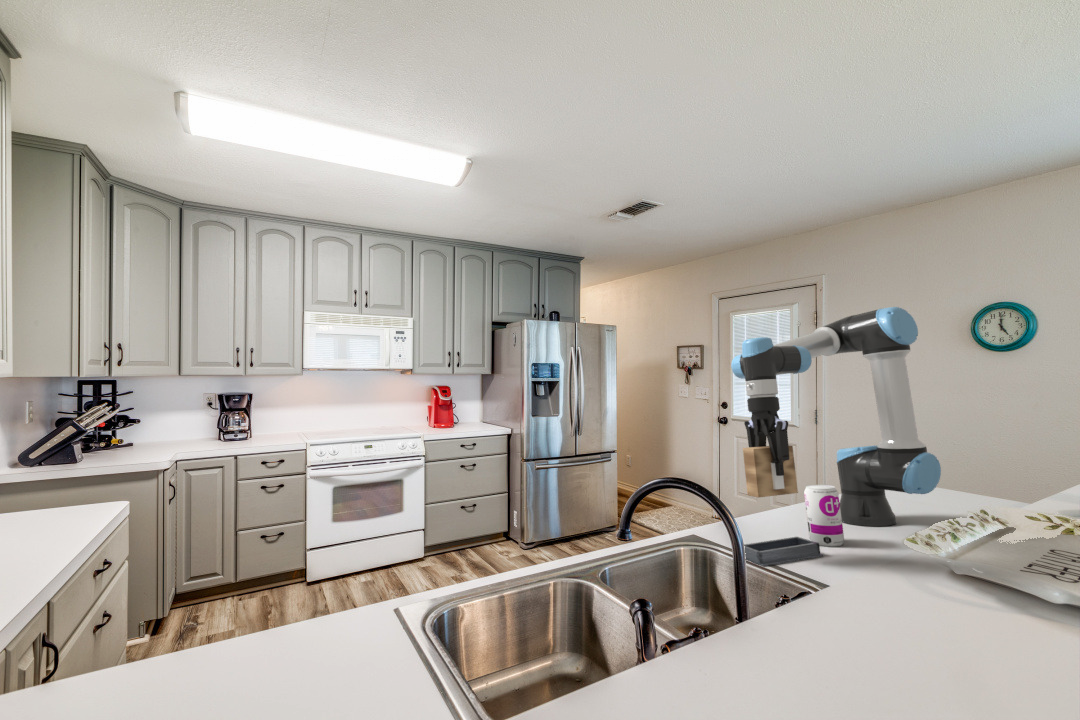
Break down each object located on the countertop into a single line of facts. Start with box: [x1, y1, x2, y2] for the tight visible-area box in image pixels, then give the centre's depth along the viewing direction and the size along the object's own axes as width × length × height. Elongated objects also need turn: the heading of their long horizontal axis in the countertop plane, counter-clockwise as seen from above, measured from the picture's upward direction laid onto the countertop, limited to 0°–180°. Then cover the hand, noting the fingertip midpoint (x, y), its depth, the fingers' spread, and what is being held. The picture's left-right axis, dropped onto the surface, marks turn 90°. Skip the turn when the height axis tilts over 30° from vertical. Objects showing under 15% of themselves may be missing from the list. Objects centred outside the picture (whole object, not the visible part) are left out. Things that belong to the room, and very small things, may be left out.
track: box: [743, 536, 825, 568], centre depth 120 cm, size 18×9×3 cm, turn 105°
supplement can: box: [803, 484, 845, 548], centre depth 129 cm, size 8×8×15 cm
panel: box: [742, 444, 799, 498], centre depth 122 cm, size 12×4×12 cm, turn 105°
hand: (772, 487), depth 122 cm, fingers closed on panel, 4 cm apart
